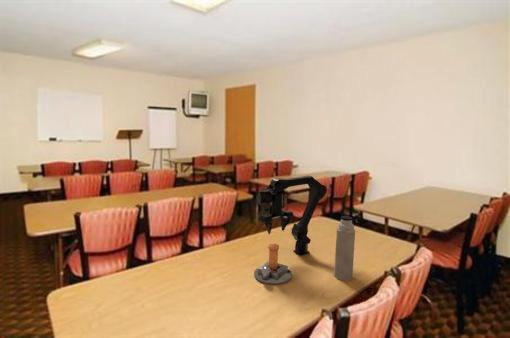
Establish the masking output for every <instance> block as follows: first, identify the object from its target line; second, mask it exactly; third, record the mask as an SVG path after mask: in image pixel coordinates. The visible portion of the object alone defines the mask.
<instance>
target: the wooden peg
mask: <svg viewBox="0 0 510 338" xmlns="http://www.w3.org/2000/svg"><path fill="white" fill-rule="evenodd" d="M267 246H268V247H267V249H268V261H269V267H270V270H274V271H276V270H277V267H278V263H279V262H278V261H279V260H278V259H279V249H280V246H279V244H278V243H269V244H268V245H267Z"/></svg>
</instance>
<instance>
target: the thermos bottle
mask: <svg viewBox="0 0 510 338" xmlns="http://www.w3.org/2000/svg"><path fill="white" fill-rule="evenodd" d="M335 239H336V240H335V254H334V255H335V258H334V273H333V276H334V277H335V278H336V279H338V280H340V281H345V282H348V281H351V280H352V279H353V274H354V272H353V271H354V258H355V256H354V255H355V241H356V230H355V225H354V223H353V217H351V216H347V215H343V216H341V217H340V222H339V223H338V227H336V238H335Z"/></svg>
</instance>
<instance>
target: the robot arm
mask: <svg viewBox="0 0 510 338" xmlns="http://www.w3.org/2000/svg"><path fill="white" fill-rule="evenodd" d="M302 185H307V186H308V187H309V188H310V191H309V193H310V194H309V196H310V197H309V200H308V202H307V205H306V206H305V208H304V211H303V214H302V216H301V217H300V219H299V222H297V223H295V222H294V223H293V226H292V228H290V230H291V233H290V234H291V236H292V237H293V239H294V240H295V245H294V246H295V247H294V249H293V253H295V254H298V255H300V256H304V255H308V254H310V251H309V249H308V248H309V244H310V243H311V238H310V237H309V236H308V232H309V224H310V223H311V219H312V217H313V215H314V212H315V210H316V209H317V206H318V204H319V202H320V201H321V200H322V199H323V198H325V196H326V194H327V192H328V187H327V186H326V185H324V184H322V183H321V182H319V181H318V180H317V179H315V177H313V176H311V175H304V176H298V177H290V178H283V177H273V178H272V179H271V180H270V183H269V184H268V185H267V188H266V189H265V190H258V193H257V194H256V203H257V204H258V205H261V213H264V214H260V215H259V216H258V221H260V222H261V223H263V224H264V226H265V228H266V231H267V233H268V235H271V233H272V229H273V228H272V226H273V222H272V221H273V219H277V218H280V220H281V231H282V232H284V231H285V230H286V227H287V225H288V224H289V223H290V221H291V220H292V218H294V213H293V211H291V210H287V209H285V210H283V208H285V205H284V203H283V201H284V200H283V197H284V196H283V195H287V194H288V193H287V191H286V189H288V188H290V187H296V186H297V187H298V186H302ZM262 205H263V206H262ZM267 205H268V207H267Z"/></svg>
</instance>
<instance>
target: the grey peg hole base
mask: <svg viewBox="0 0 510 338" xmlns="http://www.w3.org/2000/svg"><path fill="white" fill-rule="evenodd" d="M288 267H289V266H288V265H287V264H282V263H279V262H278V267H277V270H276V271H274V270H270V267H269V260H268V261H266V262H265V263H264V264H262V265H261V266H259V267H257V268H256V269H255V270H254V272H253V275H254V278H255V280H256V281H258V282H259V283H262V284H265V285H270V286H272V285H273V286H275V285H276V286H277V285H284V284H287V283H288V282H290V281H291V279H292V276H293V275H292V272H291V270H290V269H289V268H288Z"/></svg>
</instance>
